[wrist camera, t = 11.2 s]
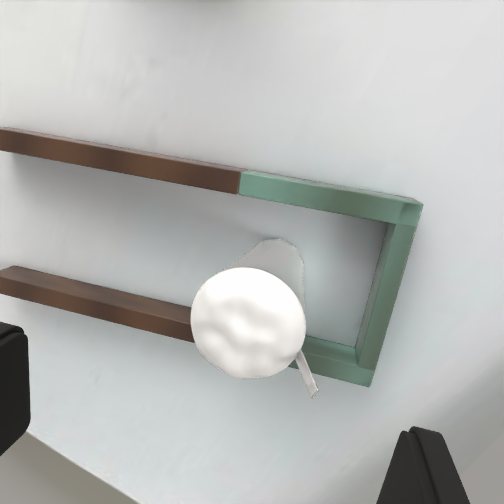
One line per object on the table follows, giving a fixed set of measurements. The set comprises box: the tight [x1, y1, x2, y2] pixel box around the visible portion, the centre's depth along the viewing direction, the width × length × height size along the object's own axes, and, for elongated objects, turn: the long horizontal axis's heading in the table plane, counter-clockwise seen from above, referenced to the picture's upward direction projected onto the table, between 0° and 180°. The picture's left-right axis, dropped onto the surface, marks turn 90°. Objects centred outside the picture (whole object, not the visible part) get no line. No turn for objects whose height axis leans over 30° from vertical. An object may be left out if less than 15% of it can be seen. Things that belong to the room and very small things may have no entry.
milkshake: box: [191, 238, 318, 399], centre depth 17 cm, size 4×5×10 cm
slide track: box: [0, 127, 423, 387], centre depth 22 cm, size 24×10×2 cm, turn 81°
